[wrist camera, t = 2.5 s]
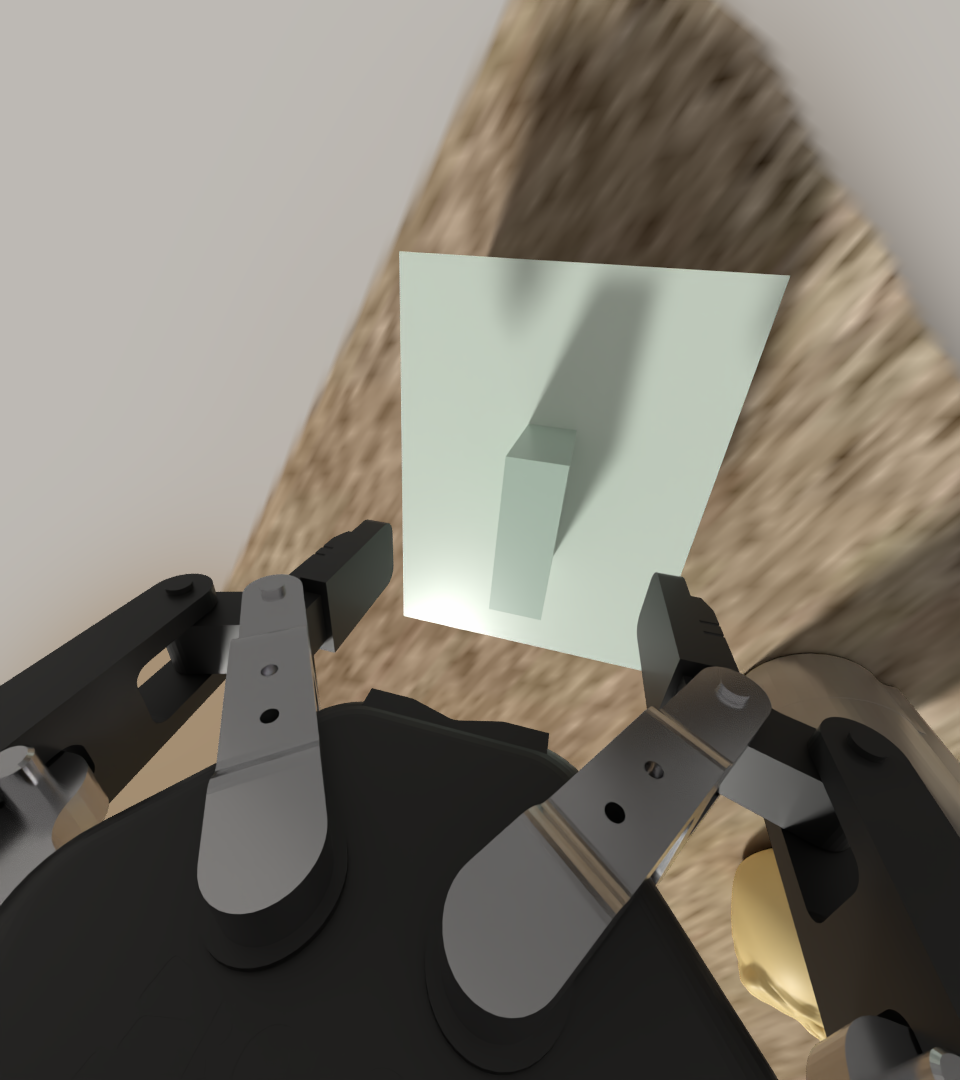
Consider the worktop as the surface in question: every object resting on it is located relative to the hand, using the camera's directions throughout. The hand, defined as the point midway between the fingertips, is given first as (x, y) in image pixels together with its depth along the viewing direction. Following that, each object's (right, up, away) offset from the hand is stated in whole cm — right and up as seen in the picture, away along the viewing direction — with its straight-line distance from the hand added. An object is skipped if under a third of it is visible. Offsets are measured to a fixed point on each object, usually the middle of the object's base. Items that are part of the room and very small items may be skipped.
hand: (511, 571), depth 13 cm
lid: (+2, +4, +7) cm, 8 cm away
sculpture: (+28, -29, +26) cm, 48 cm away
